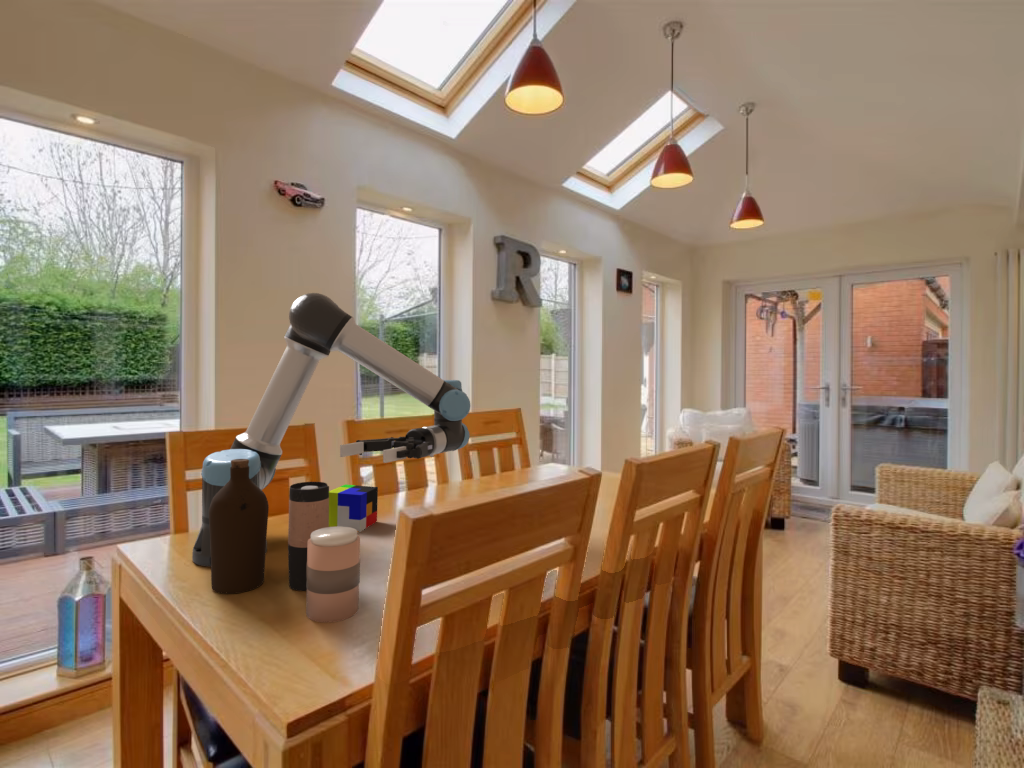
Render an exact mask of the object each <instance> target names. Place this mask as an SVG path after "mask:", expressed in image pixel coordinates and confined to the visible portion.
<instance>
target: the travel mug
mask: <svg viewBox="0 0 1024 768" xmlns="http://www.w3.org/2000/svg"><path fill="white" fill-rule="evenodd" d="M329 491H330V486H329V485H328V483H327V482H324V481H303V482H296V483H293V484H291V485H290V486H289V495H288V497H289V501H288V504H289V505H288V532H287V533H288V535H287V536H288V537H287V538H288V539H287V554H288V555H287V556H288V559H287V560H288V562H287V563H288V586H289V589H291V590H293V591H294V590H295V591H301V592H305V591H306V592H307V588H306V569H307V546H308V540H309V539H310V538H311V533H312V532H314V531H315V530H318V529H321V528H326V527H329Z"/></svg>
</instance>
